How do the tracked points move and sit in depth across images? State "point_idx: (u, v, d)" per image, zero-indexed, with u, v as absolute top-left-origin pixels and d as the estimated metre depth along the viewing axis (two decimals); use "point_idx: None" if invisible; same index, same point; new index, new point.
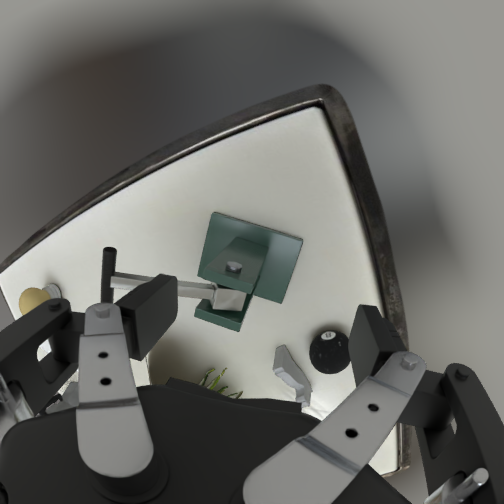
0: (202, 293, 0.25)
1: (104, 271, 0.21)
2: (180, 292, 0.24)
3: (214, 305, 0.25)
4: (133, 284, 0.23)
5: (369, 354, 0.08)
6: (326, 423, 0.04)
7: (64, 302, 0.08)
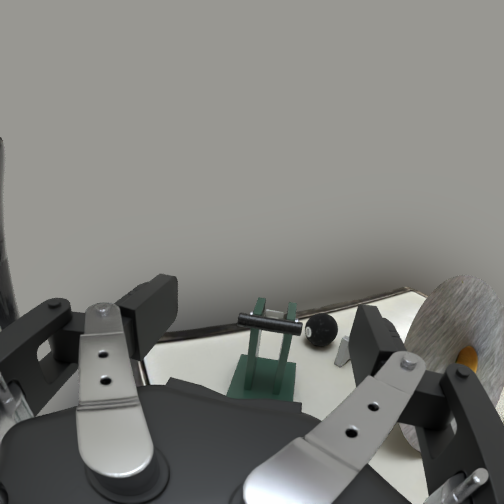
0: None
1: (260, 316, 0.24)
2: (274, 317, 0.31)
3: (280, 312, 0.34)
4: None
5: (369, 354, 0.08)
6: (326, 423, 0.04)
7: (64, 302, 0.08)
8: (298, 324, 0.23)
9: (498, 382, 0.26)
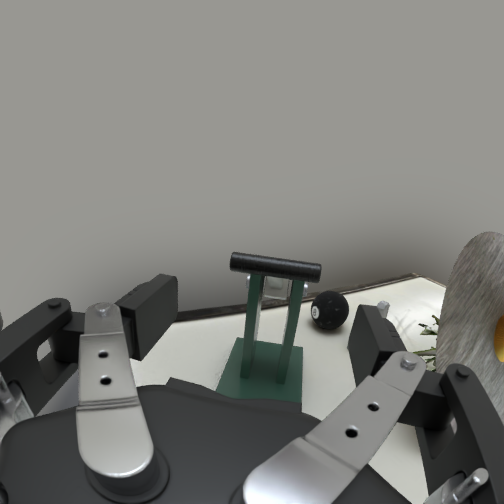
0: None
1: (261, 256, 0.17)
2: None
3: None
4: None
5: (369, 354, 0.08)
6: (326, 423, 0.04)
7: (64, 302, 0.08)
8: (315, 265, 0.17)
9: None
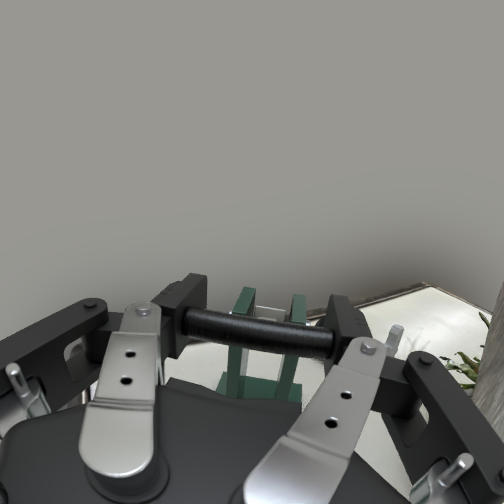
0: None
1: (234, 316, 0.10)
2: None
3: None
4: None
5: (334, 340, 0.09)
6: (326, 423, 0.04)
7: (101, 303, 0.08)
8: (325, 333, 0.10)
9: None
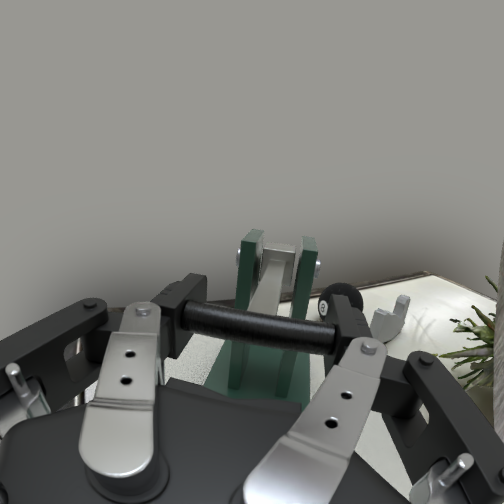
0: (276, 263, 0.18)
1: (232, 314, 0.10)
2: (276, 271, 0.16)
3: (289, 251, 0.19)
4: (265, 294, 0.12)
5: None
6: (326, 423, 0.04)
7: (101, 303, 0.08)
8: (326, 334, 0.09)
9: None
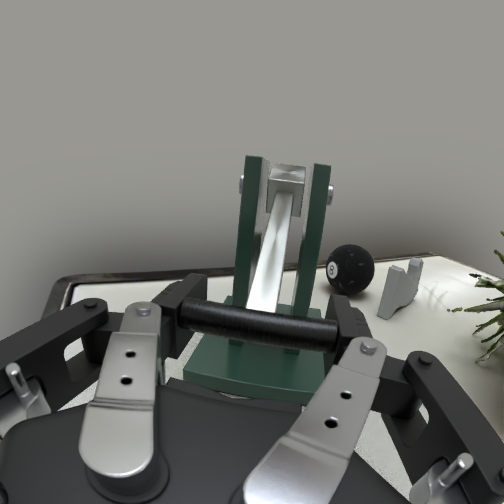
0: (283, 199, 0.16)
1: (229, 319, 0.09)
2: (282, 216, 0.14)
3: (298, 181, 0.16)
4: (267, 271, 0.11)
5: None
6: (326, 423, 0.04)
7: (101, 303, 0.08)
8: (327, 339, 0.09)
9: None
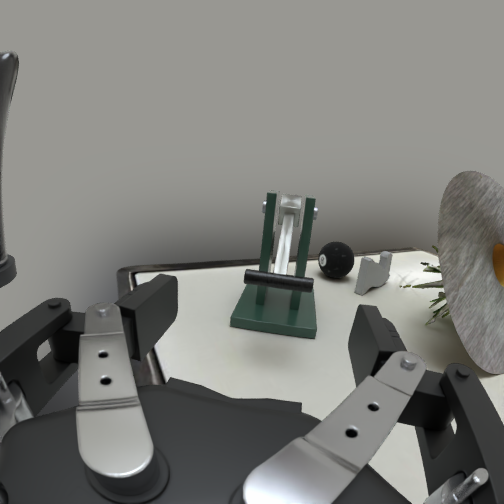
0: (288, 218, 0.29)
1: (267, 277, 0.22)
2: (288, 229, 0.27)
3: (296, 207, 0.29)
4: (281, 257, 0.24)
5: (369, 354, 0.08)
6: (326, 423, 0.04)
7: (64, 302, 0.08)
8: (308, 285, 0.22)
9: None
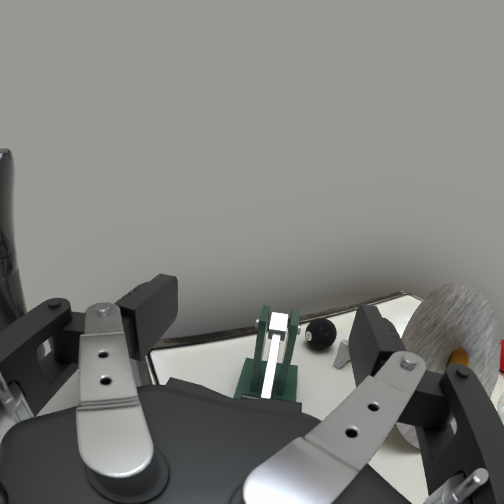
0: (275, 339, 0.35)
1: None
2: (274, 352, 0.34)
3: (282, 330, 0.35)
4: (267, 382, 0.31)
5: (369, 354, 0.08)
6: (326, 423, 0.04)
7: (63, 302, 0.08)
8: None
9: (489, 382, 0.29)
